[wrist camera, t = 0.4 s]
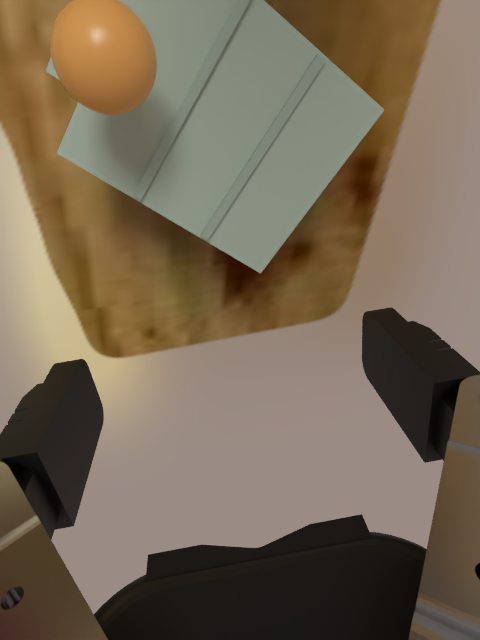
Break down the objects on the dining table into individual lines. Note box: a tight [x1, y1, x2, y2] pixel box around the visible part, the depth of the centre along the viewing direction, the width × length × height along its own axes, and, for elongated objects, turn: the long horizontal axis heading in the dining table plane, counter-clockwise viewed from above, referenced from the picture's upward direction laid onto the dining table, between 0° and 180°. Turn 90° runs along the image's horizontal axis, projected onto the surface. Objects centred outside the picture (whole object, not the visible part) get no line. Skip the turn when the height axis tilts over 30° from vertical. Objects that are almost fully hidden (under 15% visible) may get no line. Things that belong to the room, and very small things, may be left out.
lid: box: [46, 0, 384, 273], centre depth 19 cm, size 12×15×7 cm
